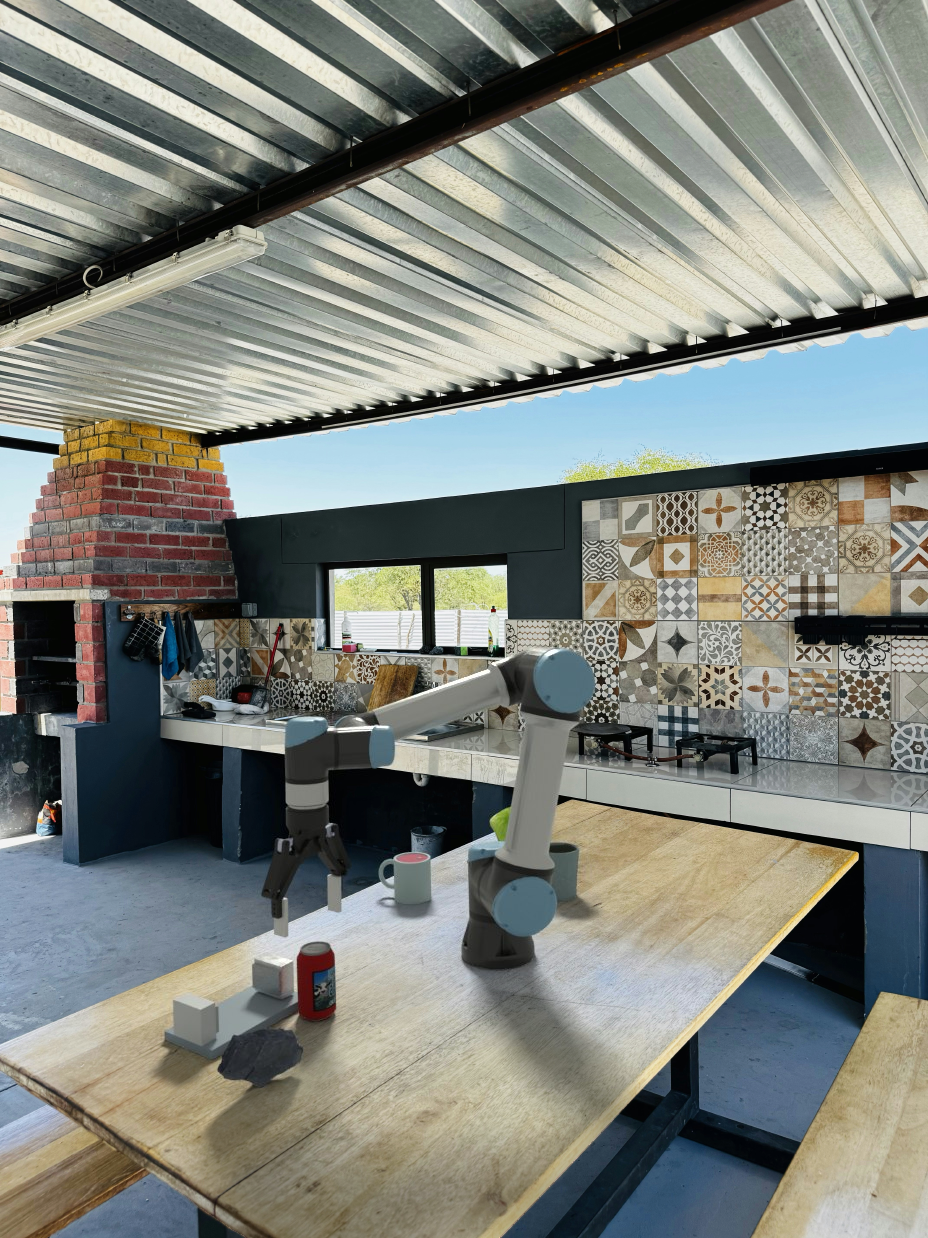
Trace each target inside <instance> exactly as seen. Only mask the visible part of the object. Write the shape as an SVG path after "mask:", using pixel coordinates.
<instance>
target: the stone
mask: <svg viewBox="0 0 928 1238" xmlns="http://www.w3.org/2000/svg"><path fill="white" fill-rule="evenodd" d="M298 1039H299V1038H298V1037H297V1035H296V1034H295V1032H294V1031H293V1030H291V1029H284V1028H281V1027H279V1028H266V1029H261V1030H257V1031H254V1032H250V1033H247V1034H244V1035H233V1036H232V1038H231V1041H230V1042H229V1045H228V1047H227V1049H226V1050H225V1052H224V1053H223V1054H221V1055H222V1056H221V1061H220V1063H219V1064H218V1066H217V1068H216V1070H217V1073H219V1074H220V1075H221V1076H222V1077H223V1078H224V1079H225V1080H229V1081H241V1080H242V1081H245V1082H249V1083H251V1084H252V1085H254V1086H256V1087H258V1088H262V1087H265V1086H266V1085H268V1083H269V1082H271V1080H273V1079H274V1078H275V1077H276V1076H278V1075H282V1074H284V1073H285V1072H287V1071H289V1070H290V1069H291V1068H294V1067H296V1065H298V1064H300V1062H301V1061H302V1059H303V1058H302V1057H303V1053H304V1050H305V1049H304V1046H302V1045H300V1043H299V1042H298Z"/></svg>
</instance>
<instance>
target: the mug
mask: <svg viewBox="0 0 928 1238" xmlns="http://www.w3.org/2000/svg"><path fill="white" fill-rule="evenodd" d="M390 864H391V865H393V883H390V882H389V881H387V880H386V878H385V877H384V876H385V875H384V869H385V867H387V866H388V865H390ZM431 865H432V863H431V855H430V854H428V853H426V852H419V851H411V852H409V851H408V852H403V853H400V854H397V855H394V857H393V859H392V858H388V859H385V860H384V861H383V862H382V863H381V864H380V866H379V868H378V877H379V880H380V882H381V883H382V885H383V886H384V887H386V888H387V889H389V890H390V889H391V890H394V891H393V893H394V897H393V898H394V901H395V902H397V903H399V904H404V905H419V904H423V903H427V902H428V901H430V900H431V899H432V871H431V870H432V866H431Z"/></svg>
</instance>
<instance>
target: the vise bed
mask: <svg viewBox="0 0 928 1238" xmlns="http://www.w3.org/2000/svg"><path fill="white" fill-rule="evenodd" d="M172 1011H173V1012H172V1013H173V1015H172V1016H173V1017H172V1018H173V1026H172V1027H170V1028H168V1029H166V1030H164V1033H163V1034H164V1041H165V1042H166V1041H167V1042H169V1043H171V1044H174V1045H176V1046H179V1047H180V1048H183V1049H186V1050H187V1051H190V1052H193V1053H195V1054H198V1055H200V1056H203V1057H205V1058H207V1059H209V1060H215V1059H216V1058H217V1057H219V1056H221V1055H223V1053H224V1052H225V1050H226V1049H227V1047H228V1045H229V1042H230V1041H231V1038H232V1036H233V1035H244V1034H247V1033H250V1032H254V1031H257V1030H261V1029H269V1028H270V1027H271V1026H272V1025H274V1024H276V1023H277V1022H279V1021H281V1020H283V1019H284V1018H286V1017H288V1016H290V1015H292V1014H293V1013H295V1012H298V992H297V991H296V990H294V993H293V994H292V995H290V996H288V997H286V998H284V999H283V1000H282V999H279V998H276V997H273V996H270V995H267V994H264V993H261V992H258V991H255V988H253V985H251V986H249V987H248V988H245V989H243V990H242V991H239V992H237V993H235V994H233V995H232V996H230V997H228V998H226V999H224V1000H222V1001H220V1002H218V1003H216V1002H215V1001H213V1000H211V999H208V998H204V997H202V996H199V995H196V994H193V993H190V992H186V993H184V994H181V995H179V996H177V997H175V998H173V999H172Z"/></svg>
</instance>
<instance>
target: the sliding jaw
mask: <svg viewBox="0 0 928 1238" xmlns="http://www.w3.org/2000/svg"><path fill="white" fill-rule="evenodd" d="M253 960H254V963H251V973H252V974H251V975H252V986H253V988H255V991H258V992H261V993H264V994H267V995H270V996H273V997H276V998H279V999H282V1000H283V999H284V998H286V997H288V996H290V995H292V994H293V993H294V991H295V975H294V970H295V969H294V960H292V959H289V958H285V957H283V956H280V955H279V956H278V955H276V954H272V953H269V952H265V953H263V954H261V955H259V956H257V957H255V958H254V959H253Z"/></svg>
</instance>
